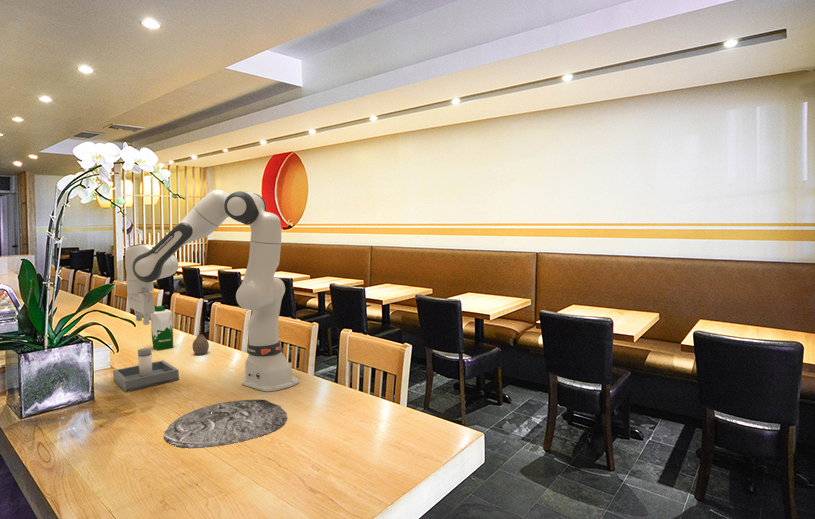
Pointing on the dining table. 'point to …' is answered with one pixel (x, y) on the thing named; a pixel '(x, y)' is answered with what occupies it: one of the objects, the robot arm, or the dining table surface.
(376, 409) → the dining table surface
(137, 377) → the tray
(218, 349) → the dining table surface
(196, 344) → the vase
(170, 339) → the milk carton
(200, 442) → the worn metal disc
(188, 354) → the dining table surface
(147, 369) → the shaker
